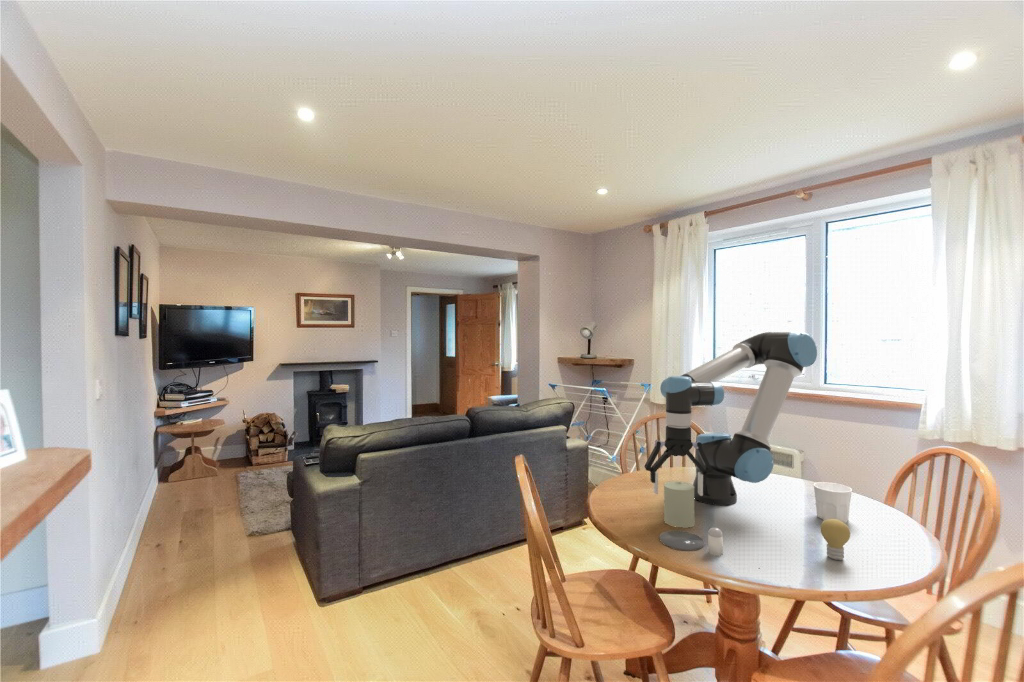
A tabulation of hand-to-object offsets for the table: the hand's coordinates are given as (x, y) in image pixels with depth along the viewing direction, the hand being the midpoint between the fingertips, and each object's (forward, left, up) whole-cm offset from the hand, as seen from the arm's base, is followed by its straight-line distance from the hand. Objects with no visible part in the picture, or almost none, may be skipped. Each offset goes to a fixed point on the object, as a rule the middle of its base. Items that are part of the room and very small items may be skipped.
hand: (677, 493), depth 148 cm
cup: (-49, -6, -9) cm, 51 cm away
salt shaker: (-4, +21, -9) cm, 23 cm away
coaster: (+3, +14, -9) cm, 17 cm away
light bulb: (-34, +22, -9) cm, 42 cm away
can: (0, 0, -9) cm, 9 cm away
